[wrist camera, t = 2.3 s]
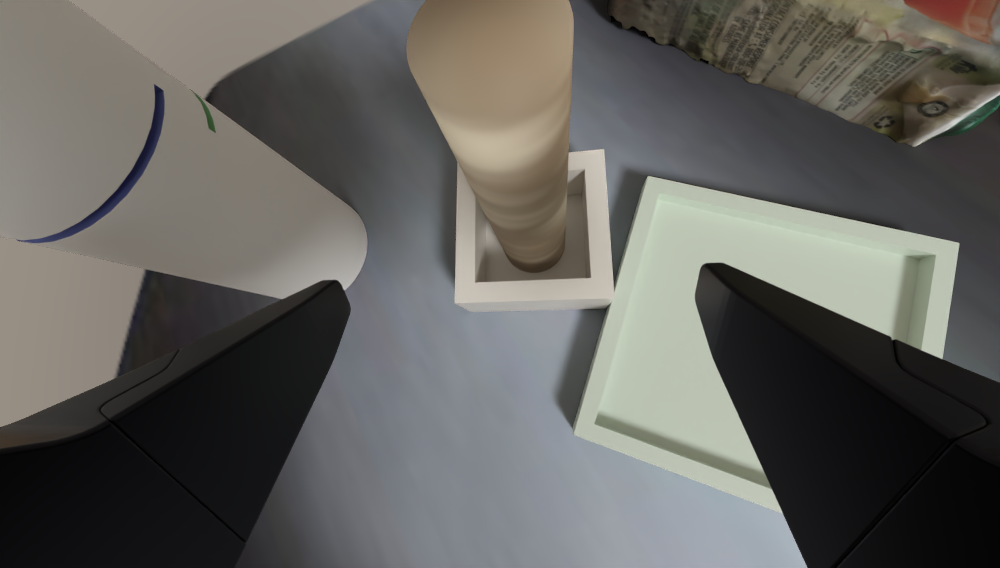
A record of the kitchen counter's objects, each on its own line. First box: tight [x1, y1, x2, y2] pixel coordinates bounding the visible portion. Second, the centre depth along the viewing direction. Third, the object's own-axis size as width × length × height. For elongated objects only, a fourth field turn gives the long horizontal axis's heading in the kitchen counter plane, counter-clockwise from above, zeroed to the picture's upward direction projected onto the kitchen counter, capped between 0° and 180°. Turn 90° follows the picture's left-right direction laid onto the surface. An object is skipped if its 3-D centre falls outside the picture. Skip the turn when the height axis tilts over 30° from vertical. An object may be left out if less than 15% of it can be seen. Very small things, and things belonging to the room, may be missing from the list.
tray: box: [572, 176, 959, 514], centre depth 18 cm, size 14×14×2 cm
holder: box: [455, 149, 614, 312], centre depth 20 cm, size 8×8×4 cm
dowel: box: [407, 0, 574, 273], centre depth 14 cm, size 4×4×14 cm
